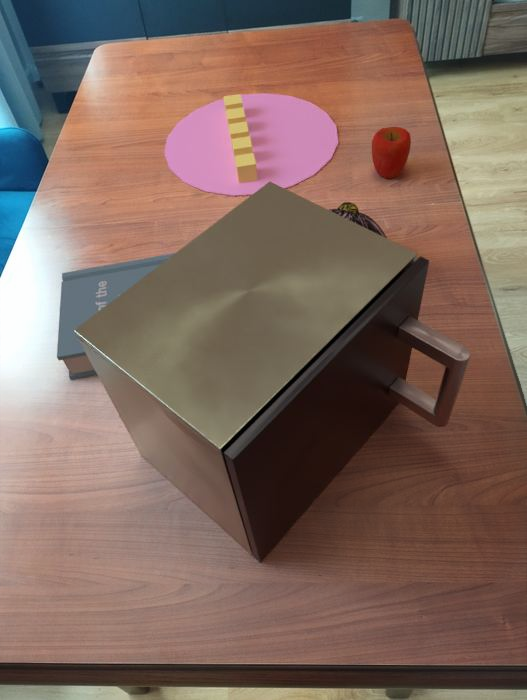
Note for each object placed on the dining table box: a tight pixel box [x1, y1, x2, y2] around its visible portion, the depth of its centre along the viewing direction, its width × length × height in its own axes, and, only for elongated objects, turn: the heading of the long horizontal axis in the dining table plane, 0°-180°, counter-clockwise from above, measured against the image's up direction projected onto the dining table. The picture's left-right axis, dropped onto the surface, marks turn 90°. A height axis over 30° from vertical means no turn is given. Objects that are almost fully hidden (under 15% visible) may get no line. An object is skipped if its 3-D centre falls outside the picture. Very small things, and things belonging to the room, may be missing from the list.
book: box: [56, 252, 176, 380], centre depth 80 cm, size 23×16×5 cm
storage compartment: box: [74, 182, 418, 556], centre depth 61 cm, size 18×26×24 cm
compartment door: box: [224, 256, 471, 564], centre depth 55 cm, size 8×26×23 cm, turn 138°
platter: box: [163, 92, 339, 197], centre depth 106 cm, size 32×32×3 cm
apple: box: [371, 126, 412, 179], centre depth 95 cm, size 6×6×8 cm
